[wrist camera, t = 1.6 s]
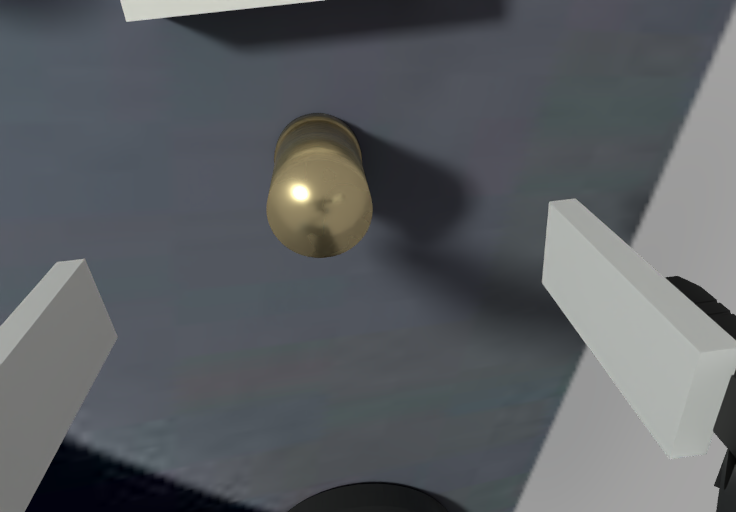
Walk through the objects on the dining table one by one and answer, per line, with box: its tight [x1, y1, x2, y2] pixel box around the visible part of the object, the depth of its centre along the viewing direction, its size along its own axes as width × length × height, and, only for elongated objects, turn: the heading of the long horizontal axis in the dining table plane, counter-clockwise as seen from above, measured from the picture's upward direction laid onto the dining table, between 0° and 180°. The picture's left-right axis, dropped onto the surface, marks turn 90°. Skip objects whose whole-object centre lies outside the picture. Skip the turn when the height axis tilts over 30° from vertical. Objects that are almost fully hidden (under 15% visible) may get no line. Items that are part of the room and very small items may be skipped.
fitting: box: [267, 113, 373, 258], centre depth 23 cm, size 4×4×7 cm
